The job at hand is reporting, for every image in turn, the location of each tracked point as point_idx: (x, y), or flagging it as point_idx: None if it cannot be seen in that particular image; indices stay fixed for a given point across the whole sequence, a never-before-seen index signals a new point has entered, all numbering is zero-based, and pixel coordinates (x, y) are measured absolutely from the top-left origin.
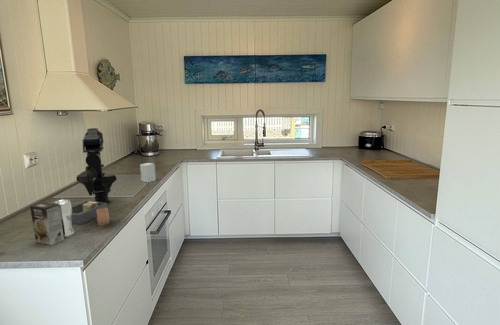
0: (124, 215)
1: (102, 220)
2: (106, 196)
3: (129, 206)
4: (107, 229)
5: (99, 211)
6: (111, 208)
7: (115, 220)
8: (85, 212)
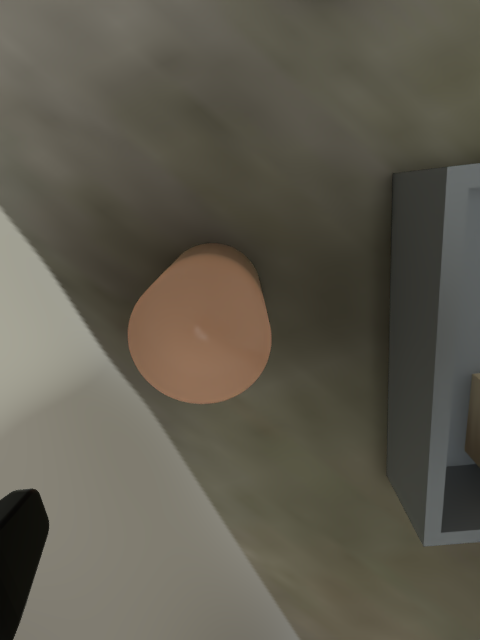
0: (196, 471)
1: (171, 264)
2: (24, 507)
3: (314, 600)
4: (52, 200)
5: (169, 276)
6: None
7: None
8: (439, 268)
